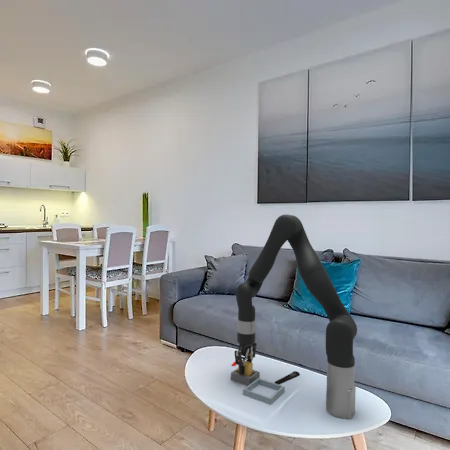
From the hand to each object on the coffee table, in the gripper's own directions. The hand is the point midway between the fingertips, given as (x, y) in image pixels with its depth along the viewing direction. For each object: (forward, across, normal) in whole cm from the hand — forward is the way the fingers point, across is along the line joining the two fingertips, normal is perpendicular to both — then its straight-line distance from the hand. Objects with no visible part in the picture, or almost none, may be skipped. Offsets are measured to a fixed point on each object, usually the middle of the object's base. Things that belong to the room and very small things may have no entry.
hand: (245, 371), depth 138 cm
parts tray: (+5, -5, -12) cm, 13 cm away
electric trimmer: (+6, +12, -14) cm, 19 cm away
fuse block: (+5, 0, 0) cm, 5 cm away
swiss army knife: (+5, +13, +12) cm, 19 cm away
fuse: (+3, 0, 0) cm, 3 cm away
